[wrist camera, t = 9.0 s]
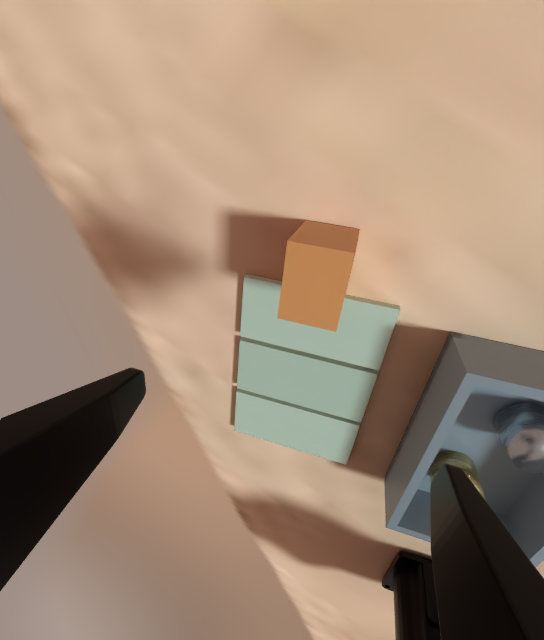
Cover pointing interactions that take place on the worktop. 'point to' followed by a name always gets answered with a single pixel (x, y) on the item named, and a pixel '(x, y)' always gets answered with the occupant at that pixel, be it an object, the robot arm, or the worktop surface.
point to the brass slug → (459, 461)
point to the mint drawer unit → (310, 347)
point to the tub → (471, 438)
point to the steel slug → (523, 435)
